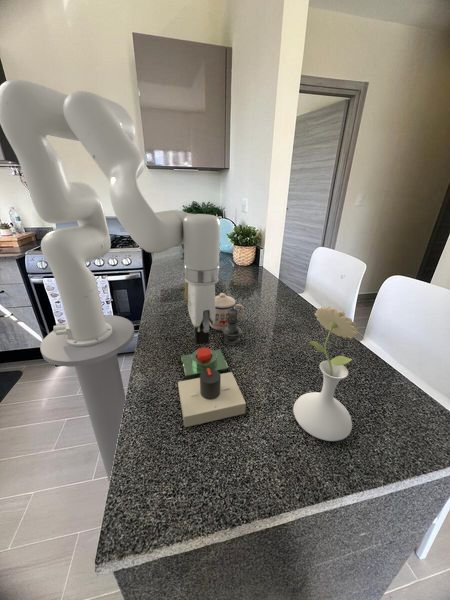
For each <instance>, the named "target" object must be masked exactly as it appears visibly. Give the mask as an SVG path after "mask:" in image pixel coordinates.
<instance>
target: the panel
mask: <svg viewBox="0 0 450 600" xmlns="http://www.w3.org/2000/svg"><path fill="white" fill-rule="evenodd" d="M220 375H221V383H220V395H219V396H218V397H217V398H215V399H211V400H209V399H205V398H203V397H202V396H201V394H200V378H196V379H191V380H185V379H184V380H180V381H177V387H178V395H179V401H180V408H181V414H182V420H183V427H184V428H188V427H193V426H197V425H201V424H205V423H206V424H207V423H209V422H215V421H217V420H223V419H228V418H231V417H235V416H240V415H245V414H246V408H247V407H246V405H247V403H246V400H245V398H244V396H243V394H242V392H241V389H240V387H239V385H238V383H237V381H236V378H235V376H234V373H233V372H232V371H230V372H229V371H228V373H223V374H220Z"/></svg>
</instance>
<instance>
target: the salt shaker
mask: <svg viewBox="0 0 450 600" xmlns="http://www.w3.org/2000/svg"><path fill="white" fill-rule="evenodd" d="M238 314H239V313H238V309H236V307H235V308H234V306H233V307H232V308H231V309H229V310H228V318H227V321H228V325H227V327H225V328H224V329H223V331H222V333H223V335H224V338H223V343H224V344H225V345H228V346H237V345H239V344H240V343H241V338H240V336H241V335H242V333H243V329H241V327H239V326H238V322H240V321H239V317H238ZM237 317H238V318H237Z"/></svg>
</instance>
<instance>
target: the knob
mask: <svg viewBox="0 0 450 600" xmlns="http://www.w3.org/2000/svg"><path fill="white" fill-rule="evenodd" d="M220 383H221V375H220V373H219V372H218V371H217V370H214V369H210V368H207V370H204V371H203V372H202V373H201V374H200V394H201V396H202V397H203V398H205V399H209V400H211V399H215V398H217V397H218V396H219V395H220Z"/></svg>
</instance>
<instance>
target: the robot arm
mask: <svg viewBox="0 0 450 600" xmlns="http://www.w3.org/2000/svg"><path fill="white" fill-rule="evenodd" d="M0 127H1V129H2V131H3V133H4V135H5V138H6V139H7V141H8V143H9V145H10V146H11V149H12V150H13V152H14V155H15V156H16V158H17V161H18V164H19V167H20V168H21V172H22V176H23V178H24V181H25V184H26V187H27V190H28V192H29V195H30V198H31V201H32V205H33V207H34V209H35V211H36V213H37V215H38V217H39V218H40V219H41V220H42V221H44V222H45V223H48V224H65V223H73V222H77V225H78V226H72V227H71V226H70V227H65V228H59V229H56V230H53V231H49V232H48V233H46V234H45V235H44V236H43V237H42V239H41V242H40V249H41V252H42V255H43V257H44V259H45V261H46V262H47V264H48V266H49V269H50V270H51V273H52V275H53V279H54V281H55V284H56V287H57V291H58V294H59V297H60V300H61V304H62V308H63V310H64V314H65V318H66V323H65V324H66V325H64V324H58V325H53V330H52V331H54V332H56V335H62V334H65V335H66V341H67V343H68V344H69V345H71V346H75V347H85V346H91V345H95V344H98V343H100V342H102V341H104V340H106V339H107V338H108V337H109V336H110V335H111V334H112V326H111V325H110V324H108V323H105V319H104V315H105V314H104V311H103V306H102V301H101V296H100V291H99V286H98V282H97V279H96V276H95V274H94V273H93V272H92V271H91V270H90V269H89V267H87V265H86V264H87V263H89V262H91V261H94V260H97V259H100V258H102V257H105V256H106V255H107V254H109V252H110V250H111V246H112V243H111V242H112V241H111V235H110V230H109V228H108V222H107V219H106V215H105V210H104V207H103V202H102V200H101V198H100V195H99V194H98V193H97V191H96V190H95V189H94V187H92V186H90V184H88V183H85V182H82V181H70V180H69V177H68V174H67V171H66V166H65V164H64V161H63V159H62V157H61V155H60V154H59V152H58V151H57V150H56V148H55V147H54V145H52V143H50V141H49V140H48V139H47V136H50V137H55V138H60V139H65V140H71V141H78V142H80V144H81V145H82V146H83V148H84V149H85V151H86V152H87V153H88V154H89V156H90V157H91V158H92V160H93V161H94V162H95V164H96V165H97V166H98V168H99V169H100V171H101V172H102V174H103V175H104V177H106V180H108V183H109V189H108V190H109V197H110V203H111V206H112V210H113V212H114V215H115V217H116V218H117V220H118V222H119V224H120V225H121V226H122V227H123V229H124V230H125V232H126V233H127V234H128V235H129V237H130V238H131V239H132V240H133V241H134V242H135V244H136V245H137V246H139V247H140V248H141V249H143V250H144V251H145V252H147V253H151V254H160V253H163V252H166V251H168V250H170V249H173V248H175V247H179V246H183V261H184V262H183V263H184V282H185V281H186V282H187V283H188V305H187V312H188V315H189V318H190V321H191V324H192V326H193V327H194V341H195V344H196V345H205V344H206V345H207V344H209V343H210V323H211V325H213V324H214V323H215V296H216V285H215V284H217V283H218V282H219V281H220V279H219V278H220V253H219V250H221V249H220V248H221V221H220V219H219V217H218V216H216V215H213V214H208V213H189V212H186V211H182V210H178V209H171V210H170V209H169V210H161V211H156V212H155V211H154V210H153V209H152V207H151V205H150V203H148V202H147V200H146V199H145V197H144V196H143V194H142V192H141V190H140V188H139V186H138V181H137V179H138V178H140V177H141V175H142V173H144V170H145V166H146V161H145V158H144V157H143V155H142V154H141V152H140V151H139V149H138V148H137V147H136V146H135V144H134V140H135V135H136V128H135V123H134V120H133V117H132V116H131V114H130V113H129V112H128V110H127V109H126V108H125V107H124V106H122V105H121V104H120V103H117V102H115V101H113V100H110V99H108V98H105V97H103V96H101V95H98V94H95V93H93V92H90V91H87V90H77V91H73V92H70V93H69V94H66V93H63V92H60V91H57V90H55V89H52V88H50V87H47V86H45V85H42V84H38V83H36V82H32V81H28V80H23V79H9V80H6V81H4V82H3V83H1V84H0Z"/></svg>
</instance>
